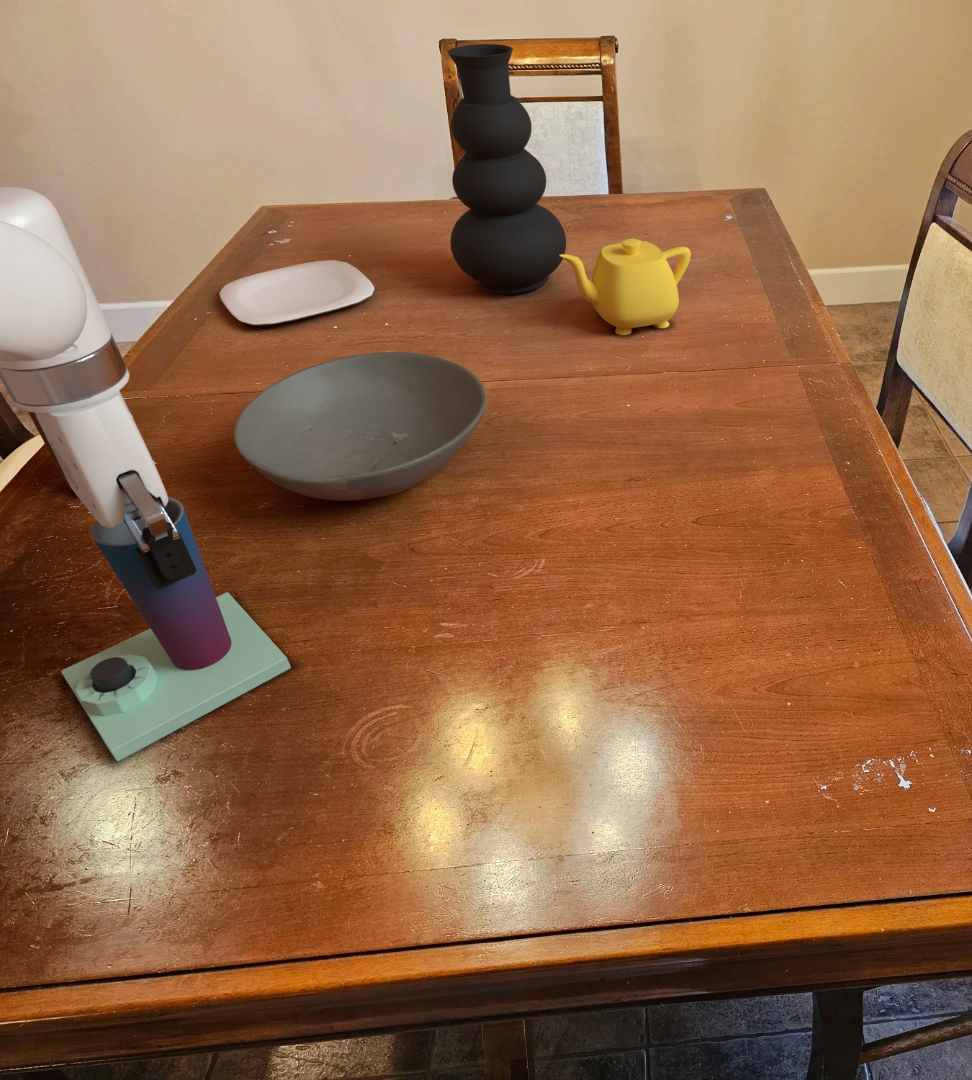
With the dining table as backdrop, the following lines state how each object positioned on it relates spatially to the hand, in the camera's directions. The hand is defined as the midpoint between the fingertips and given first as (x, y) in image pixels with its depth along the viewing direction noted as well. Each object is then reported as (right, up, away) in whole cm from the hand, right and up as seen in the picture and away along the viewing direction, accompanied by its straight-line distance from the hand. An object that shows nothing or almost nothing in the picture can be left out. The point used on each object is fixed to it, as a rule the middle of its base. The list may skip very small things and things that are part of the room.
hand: (154, 553), depth 78 cm
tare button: (-5, -11, +3) cm, 12 cm away
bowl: (+7, +10, +33) cm, 35 cm away
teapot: (+34, +35, +65) cm, 81 cm away
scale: (-2, -11, +7) cm, 13 cm away
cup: (0, -9, +7) cm, 12 cm away
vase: (+13, +44, +77) cm, 89 cm away
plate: (-21, +40, +72) cm, 85 cm away
